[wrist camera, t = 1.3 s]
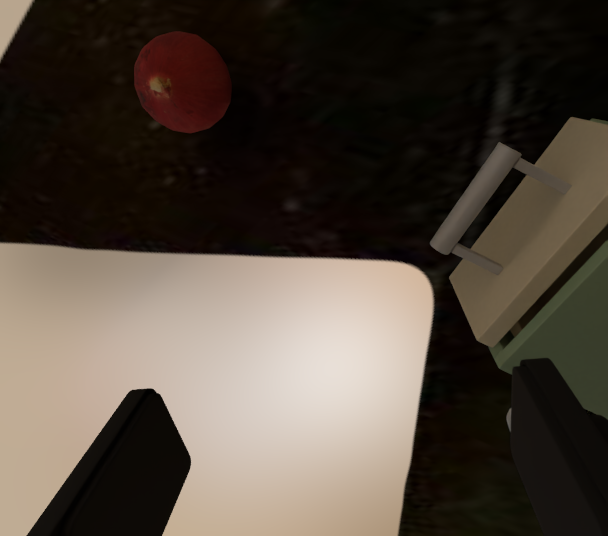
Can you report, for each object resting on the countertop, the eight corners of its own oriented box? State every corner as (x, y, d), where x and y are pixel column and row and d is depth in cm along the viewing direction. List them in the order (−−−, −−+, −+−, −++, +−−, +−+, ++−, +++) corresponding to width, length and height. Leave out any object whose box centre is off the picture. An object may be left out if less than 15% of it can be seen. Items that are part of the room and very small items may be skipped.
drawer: (395, 251, 31) (407, 308, 24) (506, 81, 25) (570, 85, 18) (597, 350, 33) (667, 431, 26) (747, 214, 27) (897, 269, 19)
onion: (182, 132, 30) (128, 152, 23) (153, 49, 28) (83, 41, 20) (253, 115, 29) (219, 130, 22) (229, 26, 26) (182, 10, 19)
